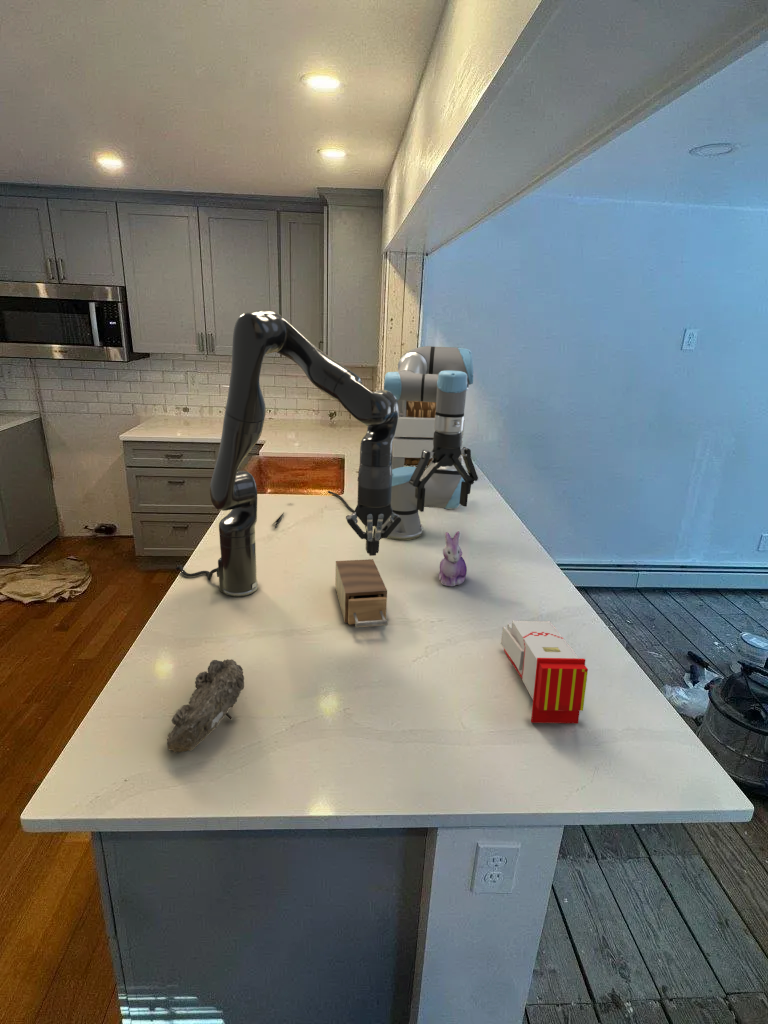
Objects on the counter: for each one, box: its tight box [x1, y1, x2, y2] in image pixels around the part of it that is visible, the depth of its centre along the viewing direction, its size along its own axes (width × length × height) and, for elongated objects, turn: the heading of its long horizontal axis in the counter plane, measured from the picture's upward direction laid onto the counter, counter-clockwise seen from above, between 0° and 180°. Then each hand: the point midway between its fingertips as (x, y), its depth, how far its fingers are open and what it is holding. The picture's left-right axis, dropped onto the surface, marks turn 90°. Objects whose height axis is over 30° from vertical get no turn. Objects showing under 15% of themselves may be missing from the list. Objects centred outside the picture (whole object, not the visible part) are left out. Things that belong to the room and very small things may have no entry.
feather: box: [273, 503, 291, 529], centre depth 211 cm, size 2×28×2 cm
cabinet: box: [334, 558, 388, 624], centre depth 151 cm, size 19×11×8 cm, turn 12°
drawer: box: [347, 594, 388, 628], centre depth 145 cm, size 23×9×6 cm, turn 12°
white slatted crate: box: [392, 400, 465, 470], centre depth 268 cm, size 34×33×41 cm
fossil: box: [166, 658, 245, 754], centre depth 106 cm, size 22×10×15 cm
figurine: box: [438, 530, 468, 587], centre depth 165 cm, size 9×10×15 cm
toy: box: [500, 620, 589, 724], centre depth 121 cm, size 12×13×30 cm
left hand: (372, 554), depth 131 cm, fingers closed
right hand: (441, 507), depth 156 cm, fingers open, 13 cm apart
